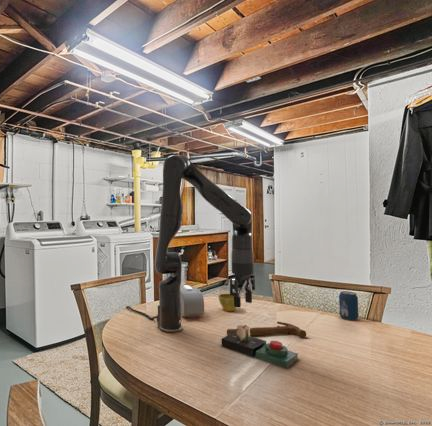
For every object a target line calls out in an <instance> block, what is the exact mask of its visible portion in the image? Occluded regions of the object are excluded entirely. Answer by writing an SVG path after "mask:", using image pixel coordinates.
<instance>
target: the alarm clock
mask: <svg viewBox="0 0 432 426" xmlns="http://www.w3.org/2000/svg"><path fill="white" fill-rule="evenodd" d="M180 293H181V317H184V318H201V317H202V316H203V315H204V314H205V299H204V295H203V293H202V291H200V289H199V288H197V287H196V286H194V285H190V284H184V285H183V286H182V285H181V286H180Z"/></svg>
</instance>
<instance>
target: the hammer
mask: <svg viewBox="0 0 432 426" xmlns="http://www.w3.org/2000/svg"><path fill="white" fill-rule="evenodd" d="M276 323H277V326H263V327H262V326H261V327H259V326H258V327H249V328H250V336H251V337H256V336H257V337H258V336H259V337H260V336H267V335H276V334H277V335H278V334H279V335H281V334H282V335H283V334H288V335H297V336H299V337H300V338H304V339H305V338H306V337H307V331H306V330H304V329H301V328H300V327H299V326H297V325H294V324H292V323H287V322H282V321H276ZM280 325H281V326H280ZM234 332H237V328H227V329H226V336H228V335H230V334H232V333H234Z"/></svg>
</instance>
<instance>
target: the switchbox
mask: <svg viewBox="0 0 432 426" xmlns="http://www.w3.org/2000/svg"><path fill="white" fill-rule="evenodd" d="M255 358H256V359H259V360H262V361H264V362H268V363H270V364H273V365H276V366H279V367H282V368H285V369H288V368H290V367H291V366H292V365H293V364H294V363H296V362H297V361H298V360H299V354H298V352H296V351H295V352H294V351H291V350H288V347H287V346H286V345H284V344H282V350H277V349H273V348H271V347H270V342H266V345H265V346H263V347H262V348H260V349H259V350H257V351H256V356H255Z"/></svg>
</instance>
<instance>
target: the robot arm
mask: <svg viewBox="0 0 432 426" xmlns="http://www.w3.org/2000/svg"><path fill="white" fill-rule="evenodd" d="M162 164H163V165H162V193H161V194H162V195H161V204H160V205H161V206H160V214H159V229H158V239H157V245H156V251H155V257H154V269H155V272H156V273H157V274H159V275H168V277H166V278H165V279H162V280H161V281H160V282H159V283H158V301H159V303H158V305H157V314H156V315H154V316H152V317H151V316H149V315H148V314H147V313H145V312H142V311H139V310H136V309H134V308H132V307H131V306H130V305H127V306H125V309H129V310H131V311H132V312H134V313H137V314H141V315H144V316H145V317H146V318H147V319H149V320H151V321H153V320H155V319H156V322H157V327H158V328H159V330H161V331H163V332H165V333H177V332H180V331H181V330H182V323H183V318H182V315H181V293H180V286H182V271H183V270H182V269H183V268H182V267H183V266H182V265H183V264H182V263H183V262H182V257H181V255H180V253H179V252H176V251H170V252H168V248H169V247H170V244H171V242H172V240H173V239H174V238H175V236H176V235H177V234H178V232H179V231H180V229H181V227H182V223H183V216H184V206H183V202H182V197H181V185H182V180H184V181H186V182H188V183H189V184H190V185H191V186H192V187H194V189H196V191H197V192H198V194H199V195H200V196H201V197H202V198H203V199H204V201H206V202H207V204H209V205H210V206H212V207H213V208H214V209H216V211H218V212H220V213H221V214H222V215H223V216H224V217H225V218H226V219H228V220H229V221H230V222H231V223H232V235H231V254H230V258H231V260H230V261H231V273H232V274H233V275H234V278H230V279H229V294H230V295H232V296H234V306H235V307H236V308H239V309H240V308H241V306H242V303H241V300H242V299H241V296H242V293H244V298H245V299H244V300H245V303H247V304H252V303H253V292H254V291H255V290H256V280H255V278H256V276H255V274H254V273H255V272H254V271H255V269H254V250H253V236H252V230H253V229H252V228H253V227H252V226H253V215H252V212H251V211H250V210H249V209H248V208H246V207H245V206H244V205H242V204H241V203H239V201H236V200H235V199H233V197H232V196H231V195H230V194H229V193H227V192H226V191H225V190H224V189H222V188H221V187H220V186H218V185H217V184H215V182H213V181H212V180H210V179H209V178H208V177H207V176H206V175H204V173H202V172H201V170H200V169H198V167H196V166H195V164H194V163H193V162H192V161H191V160H190V159H189V158H188V157H187V156H185V155H183V154H172V155H169V156H167V157H166V158H165V159H164V161H163V163H162Z"/></svg>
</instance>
